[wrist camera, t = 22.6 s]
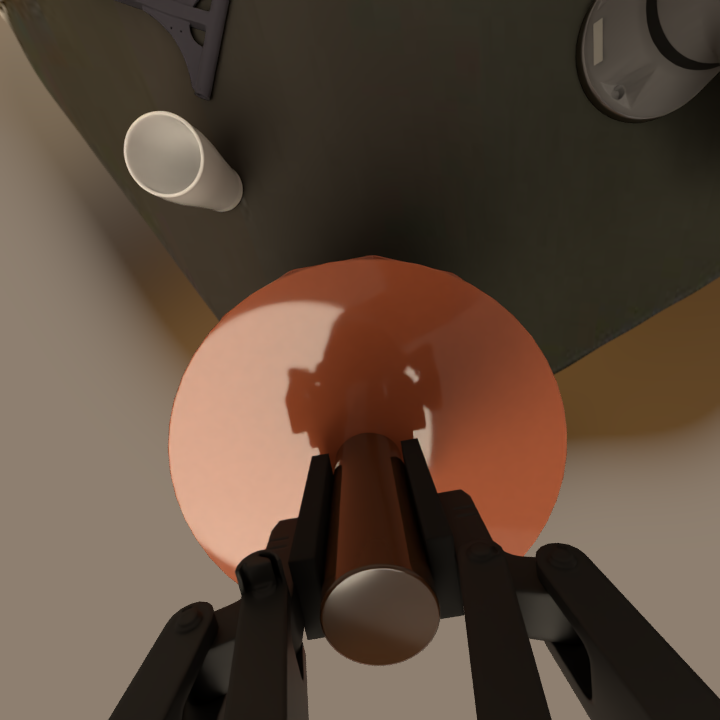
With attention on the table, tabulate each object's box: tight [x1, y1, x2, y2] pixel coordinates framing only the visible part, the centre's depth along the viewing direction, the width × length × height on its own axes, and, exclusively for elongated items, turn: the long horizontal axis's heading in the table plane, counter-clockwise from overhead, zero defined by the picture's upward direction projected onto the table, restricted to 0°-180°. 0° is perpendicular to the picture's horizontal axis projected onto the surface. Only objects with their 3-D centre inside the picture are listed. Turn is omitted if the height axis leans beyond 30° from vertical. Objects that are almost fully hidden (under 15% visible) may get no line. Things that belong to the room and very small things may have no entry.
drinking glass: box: [124, 111, 243, 212], centre depth 41 cm, size 7×7×15 cm
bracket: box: [115, 0, 229, 100], centre depth 42 cm, size 14×15×3 cm
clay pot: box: [168, 255, 567, 666], centre depth 24 cm, size 19×19×27 cm
